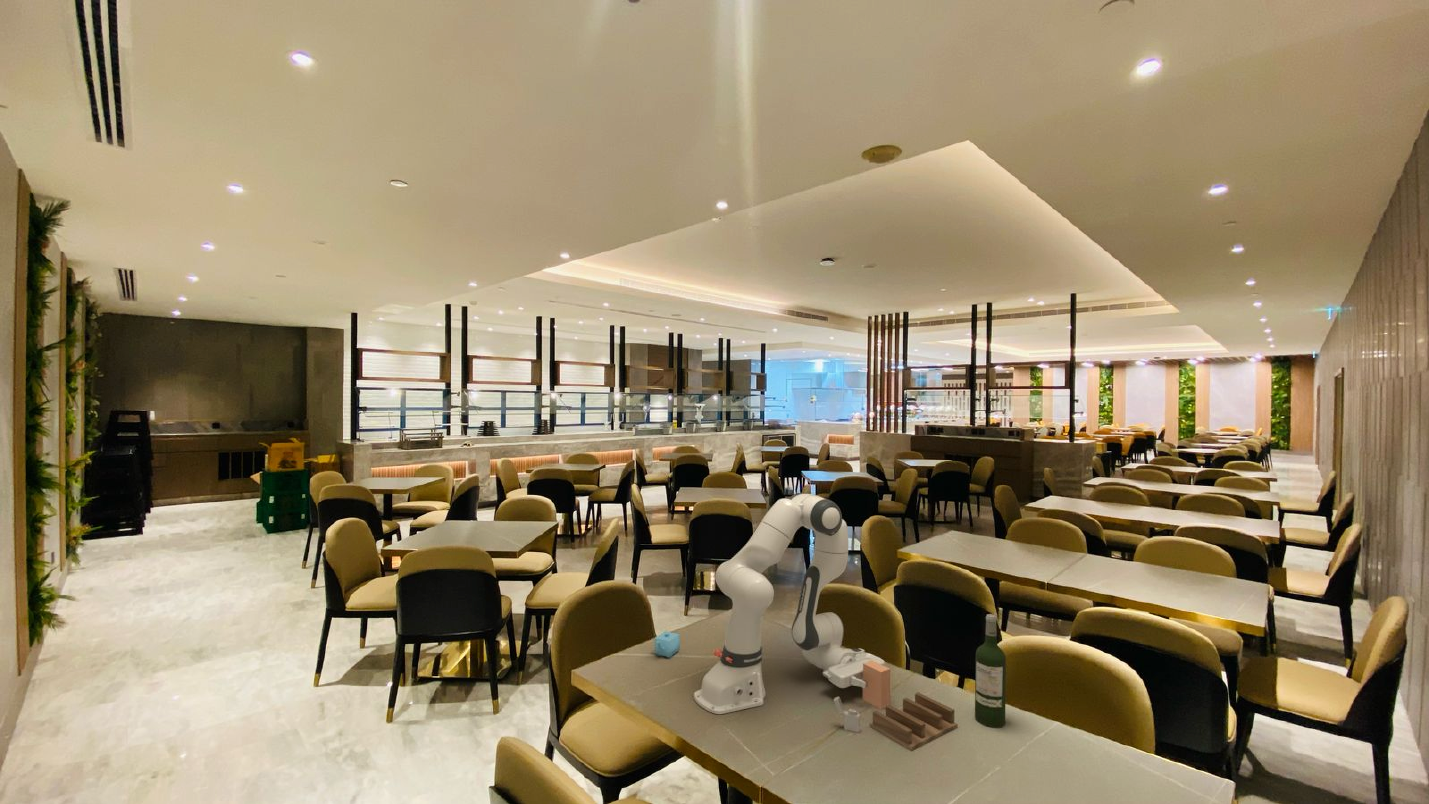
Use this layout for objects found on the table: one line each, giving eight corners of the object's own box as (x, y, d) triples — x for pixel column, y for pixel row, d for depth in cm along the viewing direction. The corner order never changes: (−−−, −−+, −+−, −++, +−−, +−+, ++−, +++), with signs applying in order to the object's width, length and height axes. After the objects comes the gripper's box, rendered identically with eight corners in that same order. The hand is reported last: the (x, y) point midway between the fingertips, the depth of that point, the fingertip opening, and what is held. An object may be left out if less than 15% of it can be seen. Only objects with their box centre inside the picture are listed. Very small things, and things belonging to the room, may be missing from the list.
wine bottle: (975, 724, 171) (976, 618, 171) (974, 711, 179) (975, 609, 178) (1006, 730, 168) (1008, 622, 168) (1003, 716, 176) (1005, 612, 176)
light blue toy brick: (664, 663, 209) (664, 641, 209) (649, 659, 212) (649, 638, 212) (681, 650, 220) (681, 629, 220) (667, 647, 222) (667, 626, 222)
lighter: (860, 729, 168) (860, 700, 168) (858, 732, 167) (859, 703, 167) (834, 723, 171) (834, 695, 171) (833, 726, 170) (833, 698, 170)
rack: (911, 750, 158) (911, 733, 158) (869, 726, 170) (869, 710, 170) (957, 727, 170) (957, 711, 170) (915, 706, 181) (915, 691, 181)
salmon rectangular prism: (880, 709, 179) (881, 672, 179) (862, 699, 185) (863, 663, 185) (889, 705, 182) (890, 668, 181) (871, 695, 187) (871, 660, 187)
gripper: (819, 662, 189) (853, 679, 177) (864, 647, 200) (898, 662, 189) (819, 682, 189) (852, 701, 177) (864, 666, 200) (898, 682, 189)
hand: (877, 681), depth 183 cm, fingers open, 8 cm apart
